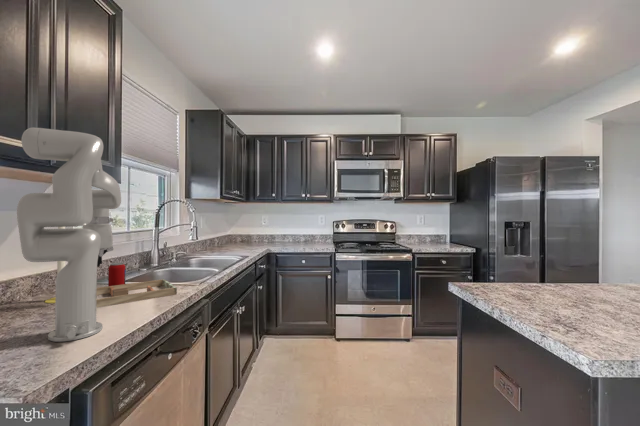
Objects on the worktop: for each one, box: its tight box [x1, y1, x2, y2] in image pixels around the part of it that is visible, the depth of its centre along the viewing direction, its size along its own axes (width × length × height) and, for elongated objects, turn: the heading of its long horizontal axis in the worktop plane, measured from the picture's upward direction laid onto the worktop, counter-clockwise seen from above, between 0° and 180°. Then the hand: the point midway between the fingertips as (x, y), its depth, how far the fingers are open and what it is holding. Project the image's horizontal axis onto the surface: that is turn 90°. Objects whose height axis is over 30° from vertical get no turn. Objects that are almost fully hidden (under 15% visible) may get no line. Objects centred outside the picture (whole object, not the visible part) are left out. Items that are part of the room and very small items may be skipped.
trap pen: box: [96, 278, 178, 309], centre depth 129 cm, size 22×30×3 cm
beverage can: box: [107, 262, 127, 287], centre depth 140 cm, size 7×7×12 cm
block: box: [113, 287, 129, 297], centre depth 124 cm, size 5×5×4 cm
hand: (97, 266), depth 119 cm, fingers closed
